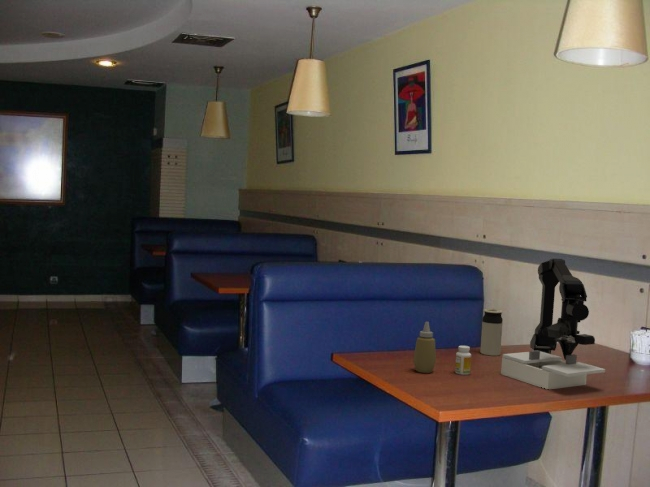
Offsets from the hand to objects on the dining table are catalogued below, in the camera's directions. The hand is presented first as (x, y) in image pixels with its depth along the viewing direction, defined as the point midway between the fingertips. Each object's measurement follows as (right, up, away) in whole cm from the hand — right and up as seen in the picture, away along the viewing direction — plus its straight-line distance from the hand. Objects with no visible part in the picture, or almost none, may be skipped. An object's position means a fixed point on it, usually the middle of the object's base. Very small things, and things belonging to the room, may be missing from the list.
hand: (566, 359), depth 258 cm
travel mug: (-17, -5, +43) cm, 47 cm away
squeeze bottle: (-49, -5, +7) cm, 50 cm away
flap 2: (0, -2, -8) cm, 8 cm away
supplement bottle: (-35, -6, +7) cm, 36 cm away
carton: (-7, -8, +4) cm, 11 cm away
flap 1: (-10, -1, +9) cm, 13 cm away
